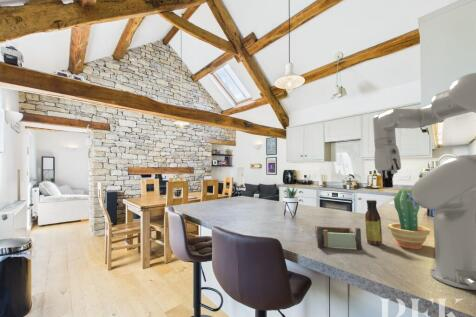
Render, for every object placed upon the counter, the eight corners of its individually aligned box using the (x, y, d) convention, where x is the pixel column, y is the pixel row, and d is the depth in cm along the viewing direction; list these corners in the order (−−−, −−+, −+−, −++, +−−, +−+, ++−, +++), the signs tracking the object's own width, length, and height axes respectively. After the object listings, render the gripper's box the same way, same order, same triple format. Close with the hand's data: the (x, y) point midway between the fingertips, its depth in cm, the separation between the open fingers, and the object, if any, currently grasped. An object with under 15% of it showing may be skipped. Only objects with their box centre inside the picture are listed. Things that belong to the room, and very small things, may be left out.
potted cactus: (391, 248, 95) (387, 190, 97) (386, 238, 109) (383, 187, 110) (437, 254, 88) (433, 191, 89) (426, 242, 102) (422, 188, 103)
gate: (354, 247, 96) (353, 231, 96) (355, 248, 94) (354, 232, 95) (324, 245, 99) (323, 229, 99) (324, 246, 98) (323, 230, 98)
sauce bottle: (384, 246, 98) (382, 201, 99) (369, 245, 99) (367, 201, 100) (378, 241, 105) (376, 199, 106) (364, 240, 106) (362, 199, 107)
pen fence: (362, 250, 93) (361, 229, 94) (317, 247, 98) (317, 227, 98) (351, 237, 110) (351, 219, 111) (314, 236, 115) (313, 218, 115)
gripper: (407, 140, 85) (411, 188, 83) (382, 145, 99) (385, 186, 98) (388, 141, 85) (391, 189, 83) (365, 145, 100) (368, 186, 98)
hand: (387, 187), depth 91 cm, fingers closed
